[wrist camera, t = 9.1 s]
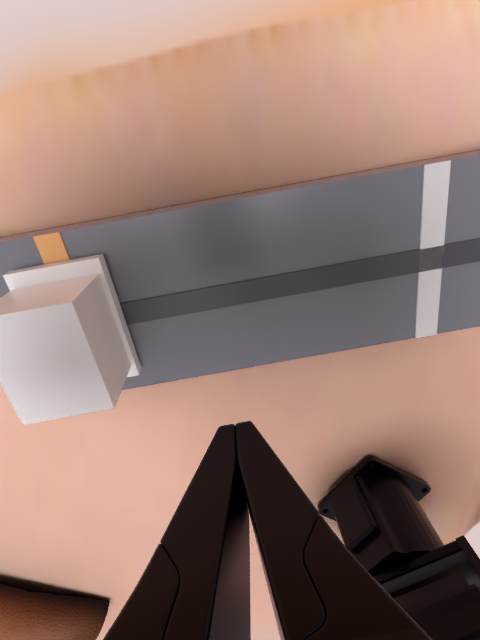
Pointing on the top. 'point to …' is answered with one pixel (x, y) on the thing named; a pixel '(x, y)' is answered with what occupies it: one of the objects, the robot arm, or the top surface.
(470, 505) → the top surface
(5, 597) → the sunglasses case
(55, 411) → the fader knob
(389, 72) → the top surface
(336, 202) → the fader track
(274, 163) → the top surface
